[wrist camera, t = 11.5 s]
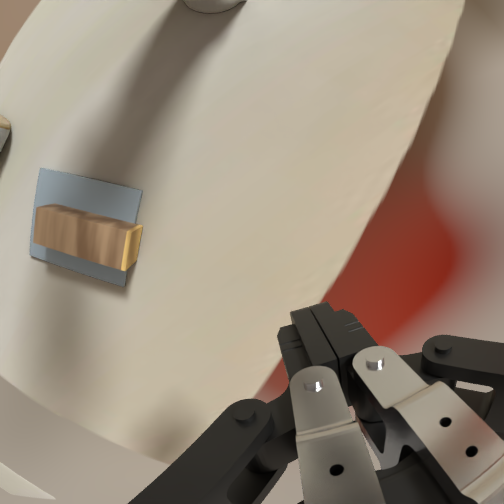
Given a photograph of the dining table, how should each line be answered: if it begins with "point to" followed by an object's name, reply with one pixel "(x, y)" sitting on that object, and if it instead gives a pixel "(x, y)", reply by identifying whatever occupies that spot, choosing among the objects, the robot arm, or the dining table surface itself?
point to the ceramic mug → (4, 130)
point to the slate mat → (87, 199)
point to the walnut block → (87, 235)
